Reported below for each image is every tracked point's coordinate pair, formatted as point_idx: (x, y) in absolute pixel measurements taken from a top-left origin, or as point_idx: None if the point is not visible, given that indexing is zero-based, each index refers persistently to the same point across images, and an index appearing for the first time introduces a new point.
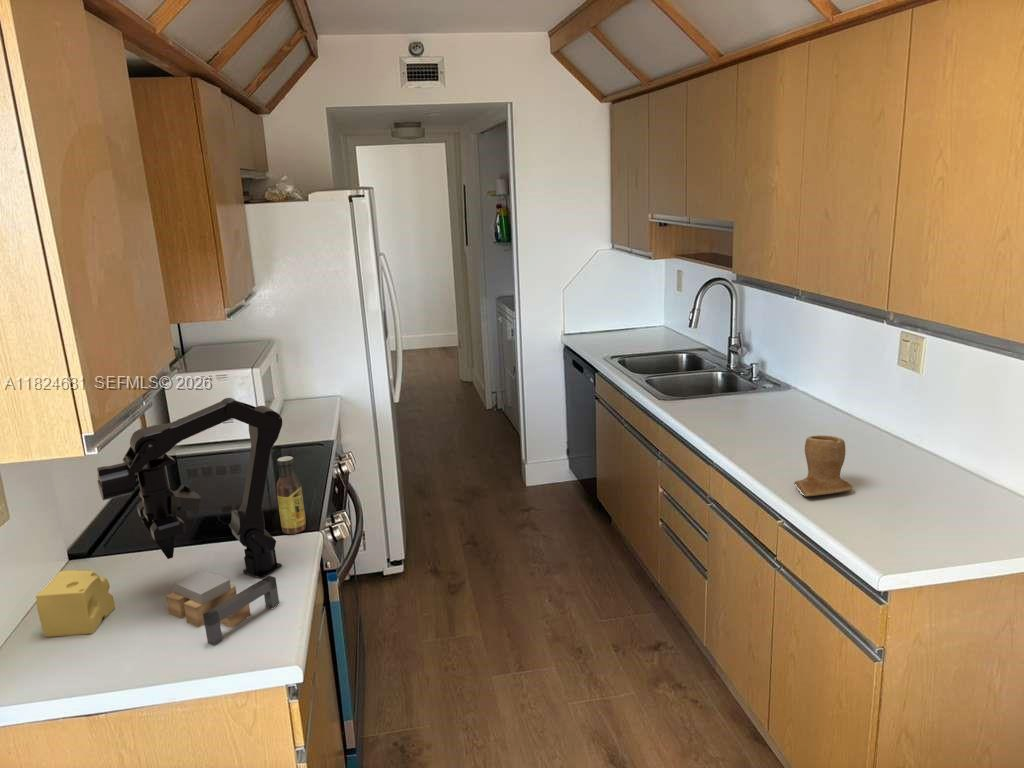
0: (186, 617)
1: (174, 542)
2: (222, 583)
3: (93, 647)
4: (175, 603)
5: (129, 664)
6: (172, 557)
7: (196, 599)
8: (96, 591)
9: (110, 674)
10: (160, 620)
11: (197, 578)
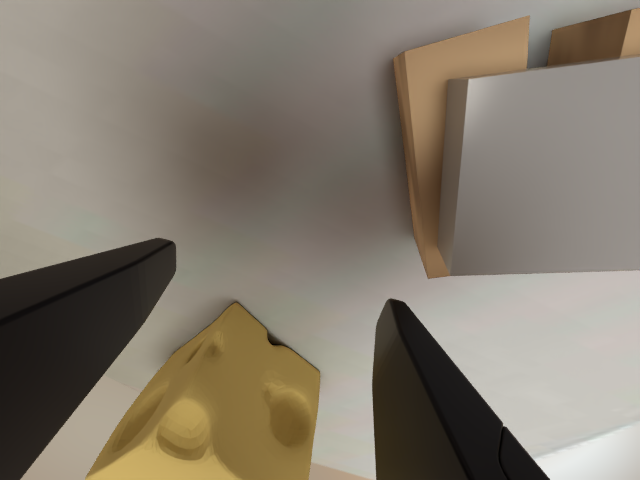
0: None
1: (538, 468)
2: None
3: None
4: None
5: (536, 391)
6: (404, 304)
7: None
8: (251, 426)
9: (525, 419)
10: (419, 268)
11: (562, 175)
